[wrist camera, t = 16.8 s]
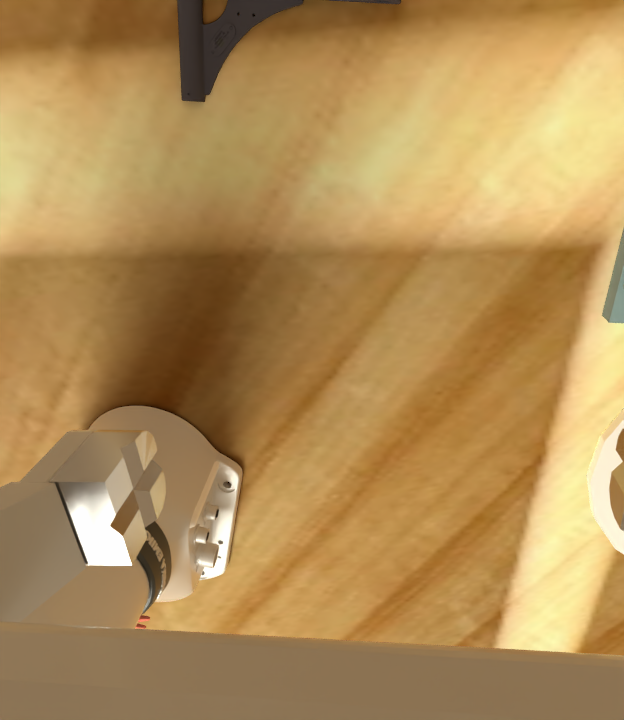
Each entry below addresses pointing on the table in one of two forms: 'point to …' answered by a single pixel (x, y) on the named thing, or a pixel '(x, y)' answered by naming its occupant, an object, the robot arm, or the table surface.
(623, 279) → the rack
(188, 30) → the bracket
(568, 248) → the table surface
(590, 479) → the dish
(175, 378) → the table surface
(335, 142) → the table surface
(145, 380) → the table surface
